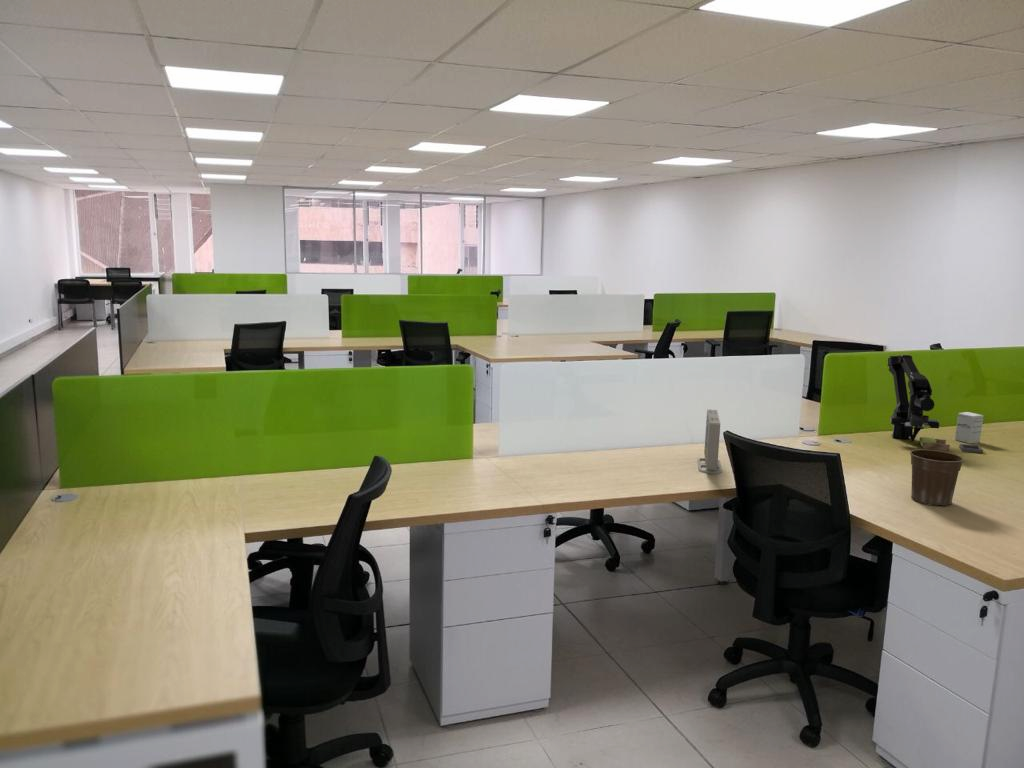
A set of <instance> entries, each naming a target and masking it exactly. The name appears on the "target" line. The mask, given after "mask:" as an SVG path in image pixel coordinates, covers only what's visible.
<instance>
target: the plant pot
mask: <svg viewBox="0 0 1024 768" xmlns="http://www.w3.org/2000/svg"><path fill="white" fill-rule="evenodd" d="M909 455H910V465H911V493H910V495H911V496H910V497H911V499H912V498H913V499H912V500H914V501H915V502H917V501H918V502H917V503H920V502H921V503H920V504H923V503H925V504H924V505H927V504H931V505H930V506H935V505H937V506H938V505H940V506H941V505H942V507H947V505H948V506H950V505H951V504H952V503H953V497H954V493H955V489H956V485H957V481H958V476H959V472H960V471H961V467H962V464H963V462H964V461H965V458H964V457H963V456H961V455H958V454H957V453H952V452H950V451H944V450H933V449H923V448H922V449H920V448H919V449H913V450H910V451H909Z"/></svg>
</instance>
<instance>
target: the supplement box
mask: <svg viewBox="0 0 1024 768" xmlns="http://www.w3.org/2000/svg"><path fill="white" fill-rule="evenodd" d="M983 420H984V414H978V413H975V412H970V411H965V412H964V411H963V412H958V414H957V422H956V429H955V435H954V441H959V442H963V443H967V444H968V445H971V444H978V443H980V442H981V436H982V429H983V422H984V421H983Z"/></svg>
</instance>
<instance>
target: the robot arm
mask: <svg viewBox="0 0 1024 768" xmlns="http://www.w3.org/2000/svg"><path fill="white" fill-rule="evenodd" d="M889 357H890V358H889ZM889 357H887V358H888V365H887V367H888V366H889V369H888V372H889V373H891V376H892V377H893V384H894V393H895V398H896V399H895V400H896V405H895V407H894V409H893V413H892V415H891V416H890V418H889V422H890V425H893V426H892V433H891V436H892V439H897V440H910V442H914V441H915V439H916V437H917V435H918V433H919V432H920V431H921V430H924V429H925V426H929V428H930V429H940V422H939V421H938V420H937V419H932V418H931V419H930V416H929V415H924V412H930V411H932V410H933V409H934V408H935V401H934V400H933V398H932V397H931V396H932V394H933V390H932V386H931V383H930V381H929V379H928V378H927V377H926V376H925V375H924V374H922V373H920V371H919V369H918V368H917V365H916V364H915V362H914V360H913V356H912V355H911V354H900V355H890V356H889ZM906 377H907V378H908V382H907V381H906V380H907V379H906ZM908 390H909V391H908ZM908 395H909V396H908Z"/></svg>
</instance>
